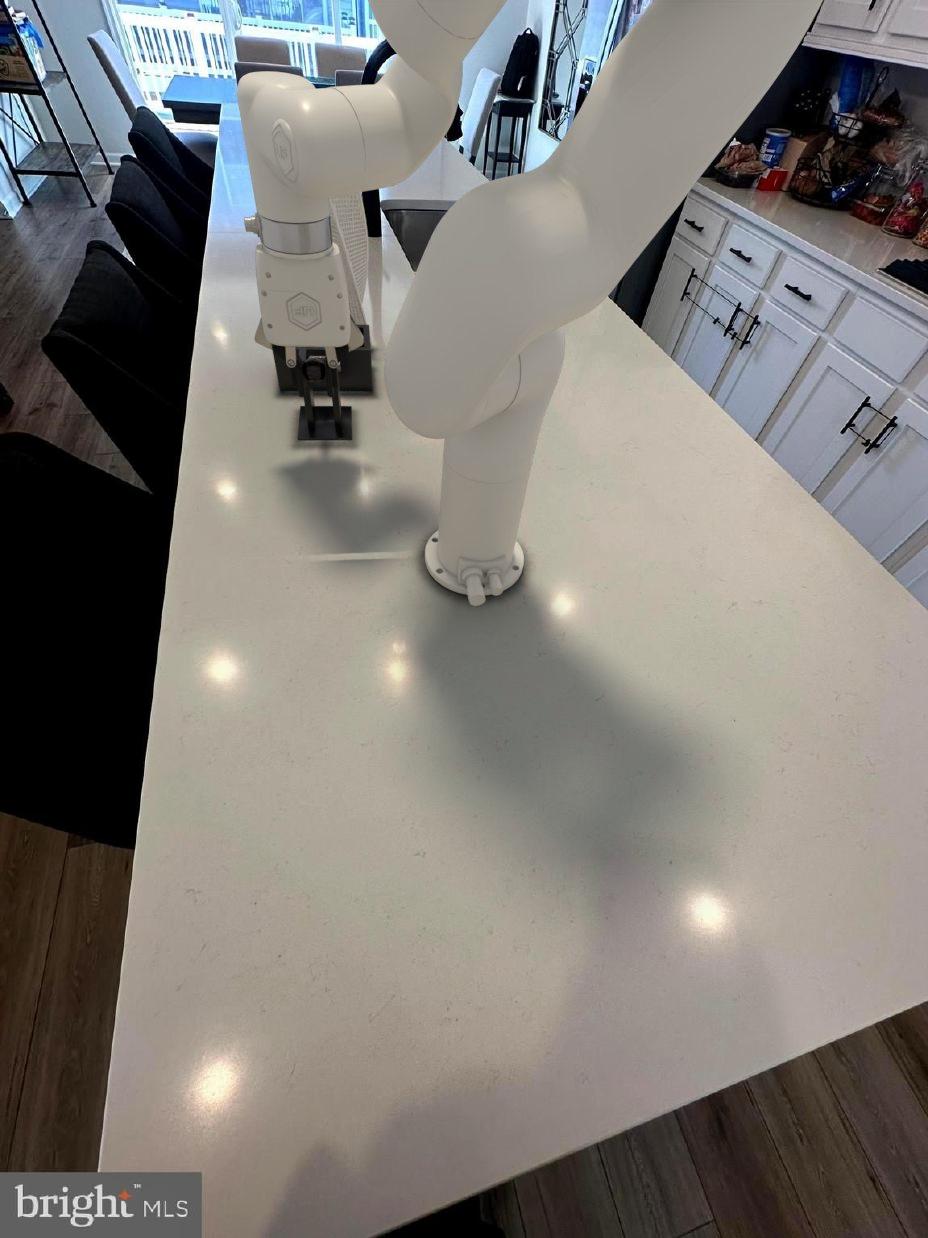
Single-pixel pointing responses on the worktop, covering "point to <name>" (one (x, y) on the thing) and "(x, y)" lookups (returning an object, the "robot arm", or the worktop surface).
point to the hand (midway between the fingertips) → (316, 390)
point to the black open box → (350, 377)
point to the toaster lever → (314, 368)
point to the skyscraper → (352, 248)
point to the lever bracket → (323, 414)
